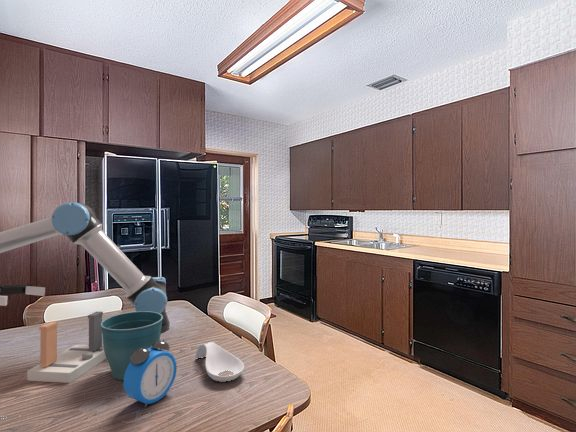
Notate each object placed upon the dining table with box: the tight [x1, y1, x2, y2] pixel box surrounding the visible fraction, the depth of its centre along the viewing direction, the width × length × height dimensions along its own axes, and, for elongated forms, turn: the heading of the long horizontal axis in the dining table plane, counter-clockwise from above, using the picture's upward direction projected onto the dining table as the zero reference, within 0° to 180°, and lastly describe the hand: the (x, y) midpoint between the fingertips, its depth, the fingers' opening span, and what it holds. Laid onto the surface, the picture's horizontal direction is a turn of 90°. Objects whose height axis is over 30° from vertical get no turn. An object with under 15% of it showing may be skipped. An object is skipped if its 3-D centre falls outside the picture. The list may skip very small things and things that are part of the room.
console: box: [26, 344, 107, 384], centre depth 108 cm, size 14×20×4 cm
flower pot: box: [101, 311, 163, 381], centre depth 104 cm, size 18×18×17 cm
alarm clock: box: [122, 339, 177, 408], centre depth 89 cm, size 13×6×15 cm, turn 152°
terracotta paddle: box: [39, 321, 59, 367], centre depth 102 cm, size 2×4×12 cm, turn 175°
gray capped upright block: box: [87, 311, 104, 351], centre depth 113 cm, size 2×4×12 cm, turn 175°
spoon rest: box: [195, 341, 245, 383], centre depth 106 cm, size 24×12×7 cm, turn 40°
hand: (26, 296), depth 103 cm, fingers open, 13 cm apart
